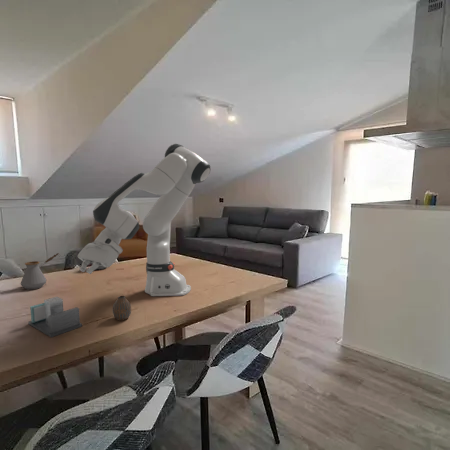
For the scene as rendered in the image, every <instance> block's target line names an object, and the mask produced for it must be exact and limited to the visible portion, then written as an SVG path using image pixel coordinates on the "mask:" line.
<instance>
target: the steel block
mask: <svg viewBox="0 0 450 450" xmlns="http://www.w3.org/2000/svg"><path fill="white" fill-rule="evenodd" d="M63 301H64V300H63V298H61V297H58V296H55V297H51V298H48V299H44V300H43V303H44V305H45V319H46V324H47V325H49V318H48V316H49V315H53V314H56V313H59V312H63V311H64V302H63Z"/></svg>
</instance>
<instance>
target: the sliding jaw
mask: <svg viewBox="0 0 450 450" xmlns="http://www.w3.org/2000/svg"><path fill="white" fill-rule="evenodd" d="M29 308H30V319H31V320H30V321H31V322H32V323H35V322H38V321H41V320H45V305H44V302H41V303H38V304H35V305H32V306H31V305H30V306H29Z"/></svg>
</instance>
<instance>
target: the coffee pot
mask: <svg viewBox="0 0 450 450" xmlns="http://www.w3.org/2000/svg"><path fill="white" fill-rule="evenodd" d="M57 256H61V254H60V253H59V252H58V253H56V254H54V255H53V256H50V257H49V258H48V259H46V260H45V261H44V262H43V263H41V262H40V261H35V260H34V261H28V262H25V263H24V265H25V266H26V269H25V271H24V274H23V276H22V279H21V282H20V286H21V287H22V288H23V289H25V290H27V291H28V290H36V289H41V288H43V286H45V284H46V282H47V279H46V277H45V275H44V273H43V272H42V270H41V267H42V266H44V265H45V264H47V263H48V262H50V261H52V260H53V259H54V258H56V257H57Z"/></svg>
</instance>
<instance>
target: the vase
mask: <svg viewBox="0 0 450 450" xmlns="http://www.w3.org/2000/svg"><path fill="white" fill-rule="evenodd" d="M112 314H113V317H114V318H115V319H116V320H117V321H126V320H127V319H128V318H130V316H131V314H132V305H131V302H130V301H129V300H128V299H127V298H126V297H125V295H119V296H118V297H117V299H116V300H115V302H114V303H113V305H112Z"/></svg>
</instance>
